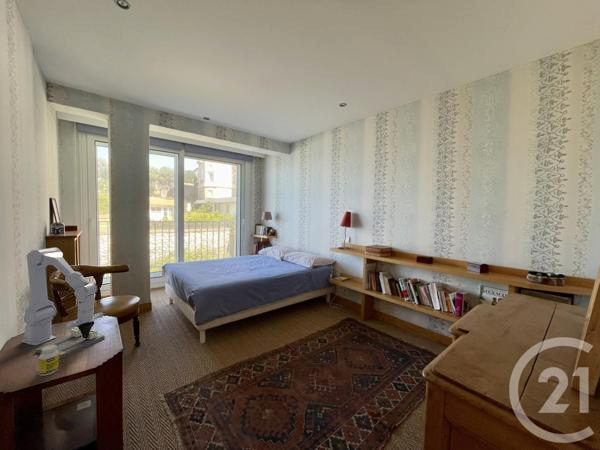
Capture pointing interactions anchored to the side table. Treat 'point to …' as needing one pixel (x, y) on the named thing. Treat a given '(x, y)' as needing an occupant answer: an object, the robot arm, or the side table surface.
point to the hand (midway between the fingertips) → (85, 337)
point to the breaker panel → (72, 344)
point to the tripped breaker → (92, 334)
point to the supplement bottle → (48, 360)
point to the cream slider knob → (75, 332)
